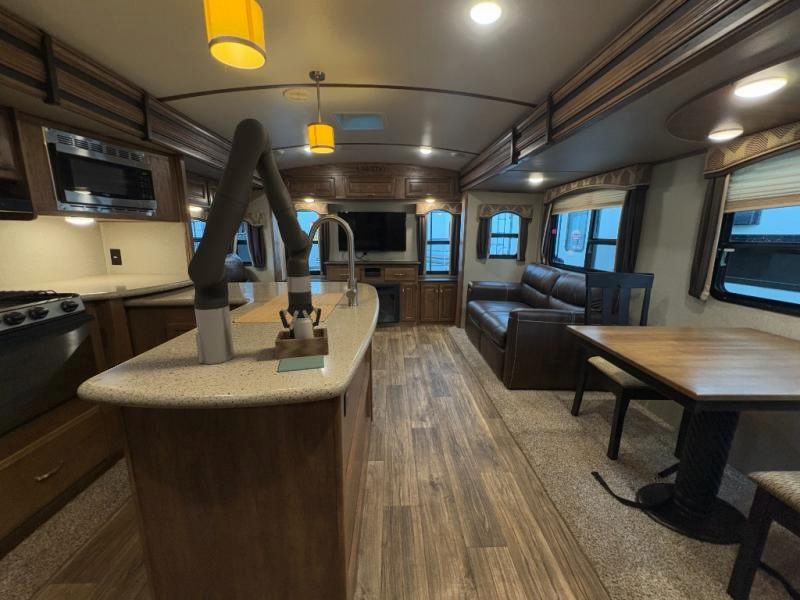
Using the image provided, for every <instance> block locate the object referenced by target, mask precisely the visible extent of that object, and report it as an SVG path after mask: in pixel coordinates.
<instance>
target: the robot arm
mask: <svg viewBox="0 0 800 600" xmlns="http://www.w3.org/2000/svg"><path fill="white" fill-rule="evenodd" d="M255 171H256V173H257V175H258V177H259V179H260V182H261V184H262V187H263V191H264V194H265V197H266V201H267V202H268V205H269V207H270V209H271V212H272V214H273V216H274V218H275V220H276V224H277V228H278V232H279V236H280V238H281V241H282V243H283V244H284V246H285V247H286V248H287V249H288V253H289V254H288V259H287V263H286V270H287V271H286V273H287V281H286V283H287V284H286V286H287V299H288V300H287V301H288V306H287V308H286V309H280V311H278V314H279V317H280V319H281V323H282V326H283V328H284V329H289V330H288V331H290V338H292V339H295V338H294V322H295V321H296V320H295V319H296V318H309V316H311V314H312V313H313V312H314V315H316V316H315V320H314V321H313V324H312V328H313V329H315V327H318V326H319V324H320V320H321V314H322V308H321V307H314V306H313V302H312V301H313V299H312V283H311V282H312V281H311V276H310V275H311V274H310V273H311V272H310V262H309V261H310V250H311V243H310V236H309V234H308V233H307V232H306V231H305V230H303V229H302V227H301V225H300V221H299V219H298V212H297V208H296V207H295V203H294V201H293V199H292V197H291V195H290V193H289V190H288V188H287V186H286V184H285V182H284V181H283V179H282V176H281V174H280V172H279V168H278V166H277V163H276V160H275V154H274V151H273V146H272V139H271V137H270V134H269V132H268V130H267V128H266V127H265V126H264V124H263V123H262V122H260V121H259V120H257V119H255V118H251V117H250V118H245V119H242V120H241V121H239V123H238V124H237V125H236V127H235V129H234V133H233V137H232V141H231V146H230V151H229V155H228V159H227V162H226V165H225V168H224V169H223V172H222V175H221V177H220V180H219V182H218V186H217V188H216V190H215V193H214V195H213V198H212V201H211V204H210V206H209V211H208V214H207V216H206V221H205V225H204V230H203V234H202V237H201V239H200V241H199V244H198V246H197V248H196V250H195V252H194V254H193V256H192V258H191V260H190V262H189V263H188V267H187V275H188V277H189V279H190V280H191V282H192V283H193V285H194V286H193V287H194V298H193V306H194V307H193V308H194V312H195V313H194V314H195V320H196V321H195V322H196V328H197V329H196V330H197V332H196V333H195V342H196V350H197V357H198V364H206V365H215V364H221V363H225V362H229V361H230V360H232V359H234V358H235V349H234V339H233V330H232V320H231V314H230V313H231V312H230V303H229V302H230V301H229V297H230V295H229V294H230V293H229V292H230V291H229V286H228V285H229V282H228V273H227V267H226V265H225V263H226V260H227V256H228V251H229V249H230V247H231V244H232V243H233V241H234V239H235V236H237V235H238V232H239V231H240V229H241V227H242V225H243V222H244V220H245V217H246V215H247V212H248V209H249V207H250V203H251V197H252V189H253V180H254V173H255ZM288 314H289V315H290V317H292V319H291V321H290V323H288V320H287V317H286V316H287V315H288ZM309 320H310V319H309ZM310 321H311V320H310ZM313 336H314V330H313Z"/></svg>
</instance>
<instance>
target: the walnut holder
mask: <svg viewBox="0 0 800 600" xmlns="http://www.w3.org/2000/svg"><path fill="white" fill-rule="evenodd" d="M313 330H314V338H302V339H292V338H290V330H280V331H279V332H278V334H277V336H276V339H275V341H274V344H275V345H274V346H275V355H276V356H275V358H276V360H282V359H285V358H296V357H306V356H317V355H324V356H328V355H330V354H329V353H330V350H329V336H328V335H329V334H328V328H327V327H320V328H319V327H318V328H313Z"/></svg>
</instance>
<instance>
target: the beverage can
mask: <svg viewBox="0 0 800 600" xmlns="http://www.w3.org/2000/svg"><path fill="white" fill-rule="evenodd" d="M309 319H310V320H311V321H310V320H309ZM295 320H296V321H295V322H294V338H295V339H302V338H314V336H313V329H314V328H312V324H313V323H314V320H313V318H312V315H310V316H309V318H296V319H295Z"/></svg>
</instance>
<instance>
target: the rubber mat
mask: <svg viewBox="0 0 800 600" xmlns="http://www.w3.org/2000/svg"><path fill="white" fill-rule="evenodd" d="M322 368H323V369H324V368H325V355H317V356H306V357H296V358H285V359H280V363H279V367H278V369H277V373H285V372H294V371H305V370H314V369H322Z"/></svg>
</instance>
